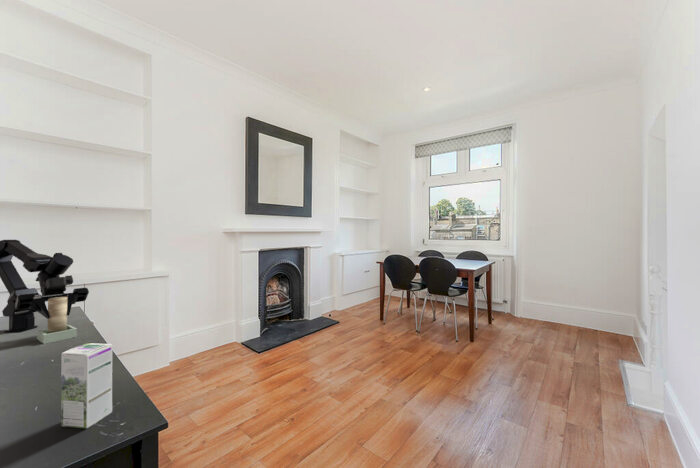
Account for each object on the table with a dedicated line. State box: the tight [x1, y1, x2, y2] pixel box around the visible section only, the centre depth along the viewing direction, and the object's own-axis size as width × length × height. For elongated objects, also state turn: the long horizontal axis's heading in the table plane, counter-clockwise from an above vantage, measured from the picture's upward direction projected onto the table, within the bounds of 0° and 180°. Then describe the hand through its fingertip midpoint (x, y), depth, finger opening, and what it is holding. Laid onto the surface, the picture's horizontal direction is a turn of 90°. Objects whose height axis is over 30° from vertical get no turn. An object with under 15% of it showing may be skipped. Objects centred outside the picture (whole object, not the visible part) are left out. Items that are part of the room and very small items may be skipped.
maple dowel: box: [47, 297, 68, 334], centre depth 107 cm, size 5×5×13 cm
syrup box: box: [60, 342, 113, 429], centre depth 59 cm, size 6×6×14 cm
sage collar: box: [36, 324, 78, 345], centre depth 106 cm, size 9×9×3 cm
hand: (58, 316), depth 106 cm, fingers closed on maple dowel, 5 cm apart
